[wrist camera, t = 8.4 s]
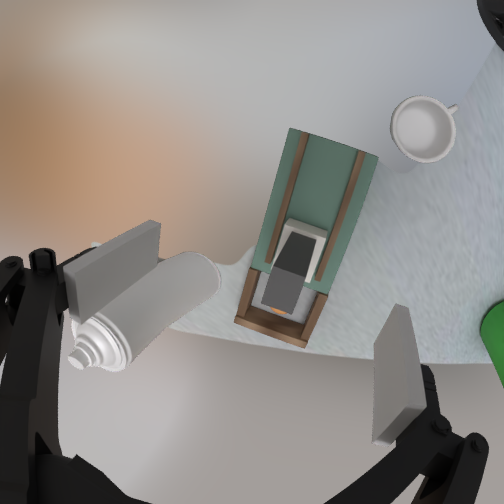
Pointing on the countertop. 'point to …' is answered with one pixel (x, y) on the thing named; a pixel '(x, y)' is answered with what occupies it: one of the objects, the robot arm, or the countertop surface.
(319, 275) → the rails
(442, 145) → the teacup
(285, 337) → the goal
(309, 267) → the block
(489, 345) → the bottle
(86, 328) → the spray can
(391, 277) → the countertop surface
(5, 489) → the robot arm
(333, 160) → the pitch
